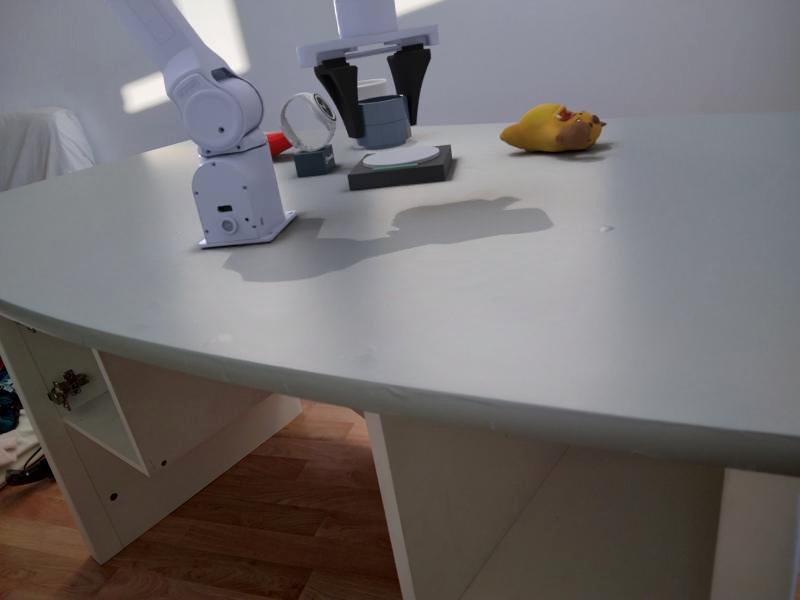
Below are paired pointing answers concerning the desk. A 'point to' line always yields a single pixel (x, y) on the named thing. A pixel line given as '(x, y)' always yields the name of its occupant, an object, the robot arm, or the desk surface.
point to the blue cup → (384, 122)
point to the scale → (401, 167)
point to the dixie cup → (370, 94)
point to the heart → (278, 143)
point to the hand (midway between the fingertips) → (383, 131)
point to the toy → (553, 129)
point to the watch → (312, 157)
